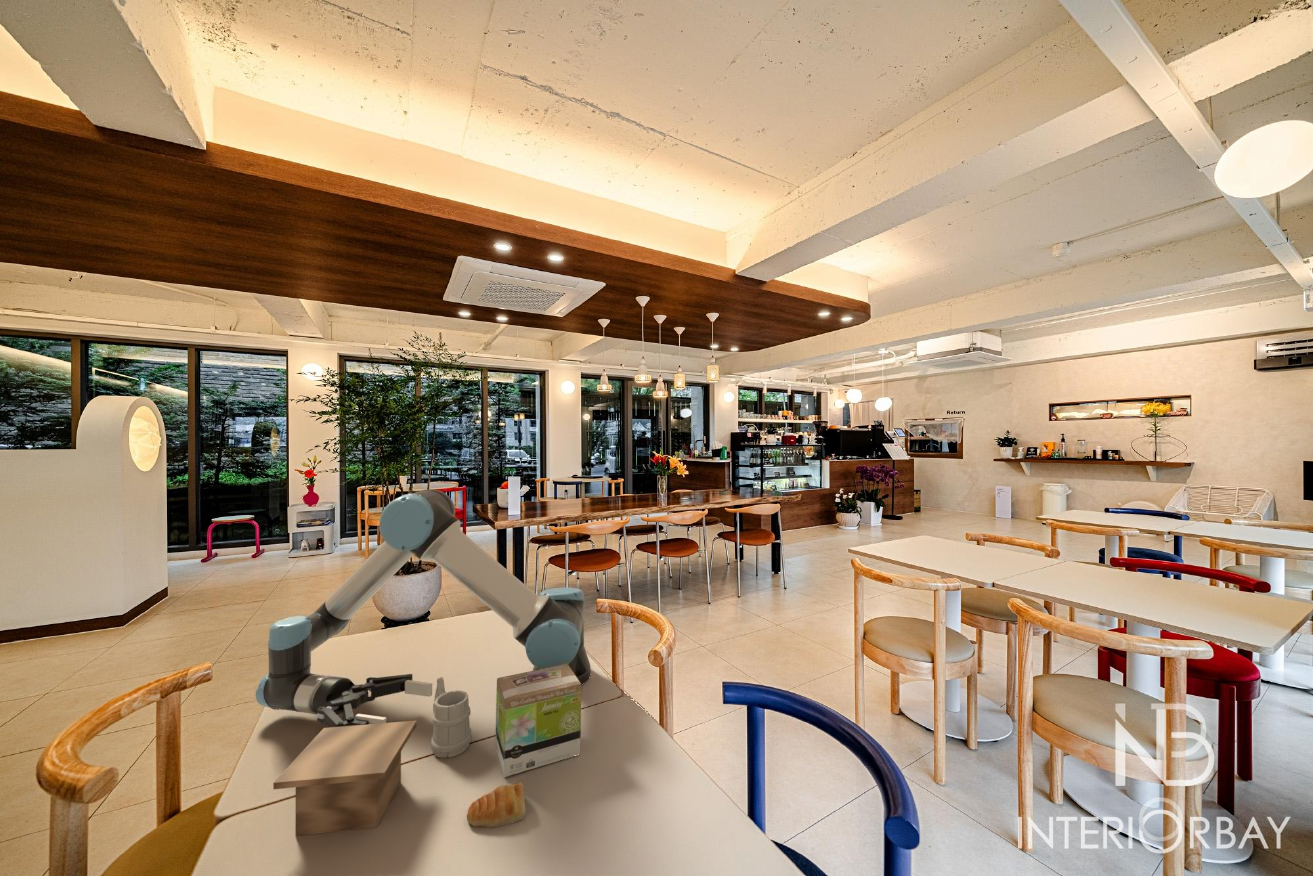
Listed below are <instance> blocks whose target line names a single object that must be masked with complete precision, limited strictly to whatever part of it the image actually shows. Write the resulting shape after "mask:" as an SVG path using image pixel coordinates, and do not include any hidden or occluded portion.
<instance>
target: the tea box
mask: <svg viewBox="0 0 1313 876" xmlns="http://www.w3.org/2000/svg"><path fill="white" fill-rule="evenodd" d="M495 702H496V703H495V707H496V708H495V743H494V745H495V751H496V754H497V757H498V760H499V764H500V768H501V771H502V775H503V778H504V779H505V778H508V777H510V776H513V775H516V774H520V773H523V772H526V771H529V770H533V769H536V768H539V767H542V766H546V765H551V764H553V763H557V762H560V760H561V761H564V760H567V758H568V759H570V758H569V757H571V758H574V757H573V756H574V755H578V754H579V755H580V754H581V740H582V739H581V736H582V732H581V731H582V722H581V721H582V685H581V683H580V681H579V680H578V678H577V677H576V675H575V674H574V673H573V671H572V670H571V668H570V667H569V665H568V664H563V665H558V666H553V667H548V668H543V669H539V670H534V671H533V670H530V671H526V672H521V673H514V674H511V675H506V676H501V677H500V676H499V677H498V678H496V699H495ZM563 759H564V760H563Z"/></svg>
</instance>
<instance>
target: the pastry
mask: <svg viewBox="0 0 1313 876" xmlns="http://www.w3.org/2000/svg"><path fill="white" fill-rule="evenodd" d="M525 800H526V797H525V790H524V785H523V783H522V782H520V781H518V782H517V783H515V784H506V785H500V786H498V787H496V788H495V789H494V790H492V791H490V792H489V793H487V794H483V795H482V796H480V797H479V798H477V799H476V800H475V801H473V802H472V803H471V804H470V806H469V807H468V809H467V813H466V820H467V822H468V823H469V824H470V825H471V826H472V827H478V826H479V827H485V826H488V828H495V827H499V825H501V826H504V825H503V824H506V825H510V823H511V824H513V823H512V822H514V823H517V822H519V821H518V820H520V821H522V820H523V819H524V818H525V816H526V811H527V810H526V803H525ZM523 817H524V818H523ZM522 818H523V819H522ZM521 819H522V820H521ZM516 821H517V822H516Z"/></svg>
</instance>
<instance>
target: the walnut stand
mask: <svg viewBox="0 0 1313 876" xmlns="http://www.w3.org/2000/svg"><path fill="white" fill-rule="evenodd" d="M417 723H418V722H417V720H407V721H395V722H392V721H391V722H386V723H380V724H367V725H355V726H342V727H330V728H328V727H324V728H322V730H320V732H319V733H318V734H316V735H315V737H314V738H313V739H312V740H311V741H310V742H309V743H308V745H306V747H305V748H304V749H303V750H302V751H301V752H300V753H299V754H298V755H297V756H296V758H294V760H293V761H292V762H291V763H289V765H288V766H287V767H286V769H284V771H283V772H282V773H281V774H280V775H279V776H278V777H277V778H276V779H275V781H274V782H273V783H272V784H273V786H272V787H273V789H272V790H281V789H289V788H290V789H291V788H295V835H294V836H297V837H298V836H306V835H313V834H314V835H315V834H323V833H332V832H333V833H334V832H343V831H350V830H352V831H353V830H359V829H360V830H361V829H370V828H371V829H372V828H376V827H378V825H379V823H380V821H381V820H382V818H383V816H384V814H385V812H386V810H387V809H388V807H389V805H390V803H391V802H392V800H393V798H394V796H395V794H396V792H397V791H398V789H399V788H400V785H401V783H402V751H403V749H404V748H405V746H406V744H407V742H408V741H409V739H410V737H411V736H412V734H413V732H414V731H415V729H416V728H417Z"/></svg>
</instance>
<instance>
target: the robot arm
mask: <svg viewBox="0 0 1313 876" xmlns="http://www.w3.org/2000/svg"><path fill="white" fill-rule="evenodd" d="M454 504H455V503H454V502H453V500H452V499H451V497H450V495H448V494H447V493H445V492H443V491H441V490H438V489H430V488H429V489H423V490H420V491H417V492H413V493H407V494H403V495H401V496H399V497H397V498H394V499H393V500H392V501H390V502H389V503H387V505H386V506H385V507H384V509H383V510H382V512H381V514H380V517H379V533H380V536H381V537H382V539H383V542H382V543H381V544H380V545H379V546H378V547H377V548H376V549H375V550H374V551H373V552H372V553H371V555H370V556H369V557H367V558H366V559H365V560H364V561H363V562H362V564H361V565H359V566H358V567H357V569H356V570H354V572H352V573H351V575H350V576H349V577H347V579H346V580H344V582H343V583H342V584H341V585H339V586H338V588H337V589H335V591H334V592H332V594H331V595H330V596H329V597H328V598H327V599H326V600H325V601H324V602H323V603H322V604H321V605H320V606H319V607H318V608H317V609H316V610H315V611H314V612H313V613H311V614H310V615H308V616H306V615H295V616H289V617H285V618H284V619H279V620H277V621H275V622H274V623H272V625H271V626H270V627H269V633H268V634H269V635H268V641H267V648H268V673H266V675H265V676H263V677H262V678H261V680H260V681H259V683H258V687H257V689H255V695H254V696H255V700H256V702H257V703H258V704H259V705H260V706H262V707H265V708H270V709H272V710H276V711H277V710H278V711H279V710H282V711H283V710H284V711H290V712H297V713H298V712H299V713H305V714H311V715H316V719H317V722H318V723H322V724H324V725H325V726H326V728H330V727H342V726H355V725H367V724H380V723H387V717H385V716H378V715H371V714H362V713H357V714H356V715H355V716H354V712H353V710H354V709H355V710H356V709H357V708H359V707H360V706H361V705H363V704H365V703H367V702H368V703H369V702H373V701H375V700H376V699H377V698H380V697H384V696H388V695H389V696H390V695H394V694H399V693H403V692H404V694H407V695H413V696H421V697H432V695H433V682H427V681H420V680H418V681H417V680H413V679H414V678H413V673H407V674H397V675H389V676H379V677H372V676H370V677H367V678H366V681H365V683H364V684H362V683H361V684H355V683H354V682H353V681H352V679H350V678H348V677H341V676H333V675H326V674H317V673H312V672H311V666H312V652H313V651H314V650H315V649H317V648H319V647H320V646H321V645H323V644H324V643H325V642H327V641H328V640H330V639H331V638H333V637H335V636H336V635H338V634H339V633H341V632H342V631H343V630H344V629H346V627H347V626H348V625H349V623H350V620H351V619H352V618H353V617H354V616H355V615H356V614H357V613H358V612H359V611H360V610H361V609H362V608H363V606H365V605H366V604H367V602H369V601H370V600H371V599H372V598H373V596H375V595H376V594H377V593H378V591H379V590H381V588H382V587H383V586H384V585H386V584H387V583H388V581H389V580H391V578H392V577H394V575H395V574H396V573H397V572H398V571H400V569H401V568H402V567H404V565H405V564H407V562H408V561H409V560H410V559H411V558H412V557H413V556H415V557H416V558H417V559H419V560H420V561H432V562H434V563H435V564H437V565H438V566H439V567H440V568H441V569H442V570H444V571H445V572H446V573H447V574H449V575H450V576H451V577H452V578H453V579H454V580H456V581H457V582H458V583H459V584H461V585H462V587H464V588H465V589H467V590H468V591H469V592H470V593H471V594H473V595H474V597H476V598H477V599H479V600H480V601H481V602H482V603H483V604H484V605H486V606H487V607H488V608H489V609H491V610H492V611H493V612H494V613H495V614H496V615H498V616H499V617H500V618H501V619H502V620H504V622H506V623H507V624H509V626H511V627H512V634H513V638H514V639H515V640H516V641H517V642H518V643H519V644H521V645H522V646H523V647H524V648H525V653H526V657H527V659H528V661H529V662H530V663H531V664H532V665H533V668H532V671H534V670H539V669H543V668H548V667H553V666H558V665H563V664H568V665H569V667H570V668H571V670H572V671H573V673H574V674H575V675H576V677H577V678H578V680H579V681H580V683H581V686H583V685H584V684H583V683H585V682H586V681H587V680H588V679H590V678H591V675H592V674H591V667H592V666H591V663H590V659H589V657H588V654H587V651H586V648H585V601H586V600H585V595H584V594H585V593H584V591H583V590H582V589H580V588H576V587H554V588H547V589H545V590H543V591H541V592H540V593H539V595H537V594H536V593H535V591H533V590H532V589H531V588H529V587H528V586H527V585H526V584H525V583H523V582H522V581H521V580H520V579H519V578H517V576H515V575H514V574H513V573H512V572H511V571H509V570H508V569H507V568H505V567H504V565H502V564H501V563H500V562H498V560H496V559H495V558H494V557H492V556H491V555H490V554H489V553H488V552H486V550H484V549H483V548H482V547H481V546H479V545H478V544H477V543H476V542H475V541H473V539H471V538H470V537H469V536H468V535H467V534H465V533H464V532H463V531H462V530H461V520H459V519H458V518H457V517H456V509H455V507H456V506H455V505H454ZM590 674H591V675H590ZM589 677H590V678H589ZM588 681H589V680H588ZM588 681H587V682H588ZM587 682H586V683H587ZM586 683H585V684H586ZM582 684H583V685H582ZM369 692H370V696H369ZM340 714H342V717H343V719H344V720H342V718H341V717H340V716H339V715H340Z"/></svg>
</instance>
